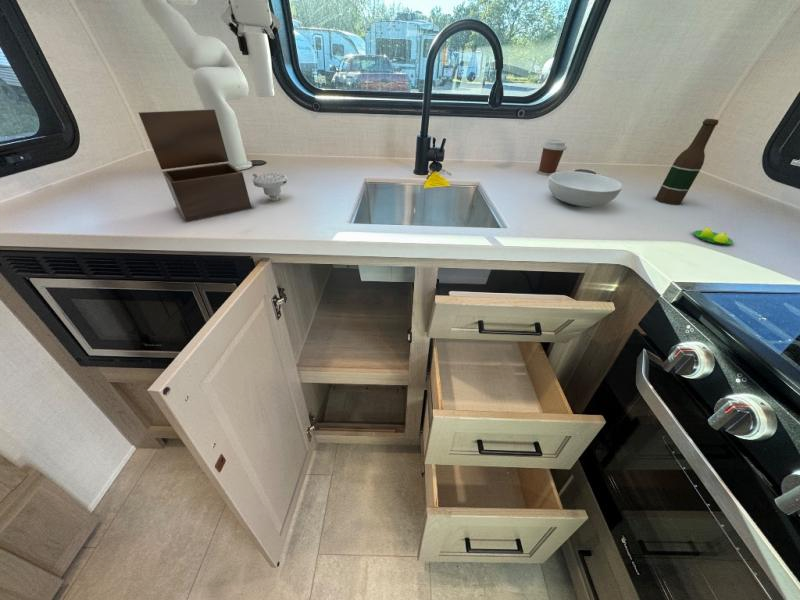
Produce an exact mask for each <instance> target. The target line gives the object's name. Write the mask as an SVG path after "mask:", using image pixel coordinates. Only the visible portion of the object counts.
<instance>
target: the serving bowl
mask: <svg viewBox="0 0 800 600" xmlns="http://www.w3.org/2000/svg"><path fill="white" fill-rule="evenodd" d="M548 176H549V177H548V189H549V191H550V193H551V194H552V195H553V197H554V198H556V199H558V200H559V201H561V202H564V203H566V204H569V205H572V206H576V207H598V206H603V205H607V204H608V203H610V202H612V201H613V200H614V199H615V198H617V197H618V195H619V194H620V192H621V191H622V189H623V185H622V183H621V182H620V181H618V180H617V179H613V178H611V177H608V176H604V175H601V174H597V173H592V172H585V171H576V170H562V171H555V173H552V174H551V175H548Z"/></svg>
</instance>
